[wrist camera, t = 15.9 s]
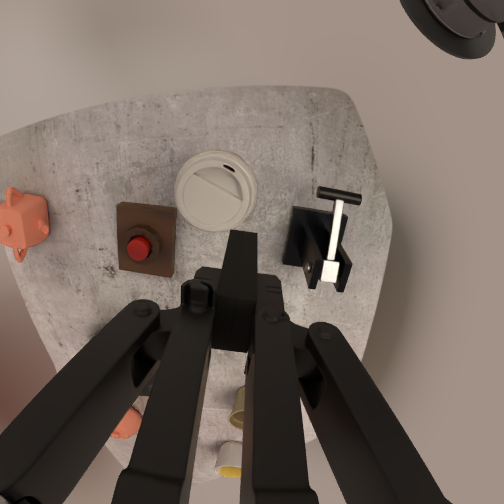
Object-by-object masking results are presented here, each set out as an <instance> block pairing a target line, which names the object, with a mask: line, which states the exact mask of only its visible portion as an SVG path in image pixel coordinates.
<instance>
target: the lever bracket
mask: <svg viewBox="0 0 504 504" xmlns="http://www.w3.org/2000/svg"><path fill="white" fill-rule="evenodd" d="M331 218H332V212H328V211H323V210H317V209H311V208H305V207H299V206H293V211H292V216H291V221H290V226H289V231H288V236H287V241H286V246H285V251H284V256H283V260H282V262H283V264H284V265H291V266H299V267H303V271H304V274H305V278H306V281H307V285H308V288H309V289H316V285H317V282H318V278H319V275H320V271H321V268H322V264H323V258H325V255H326V249H327V243H328V237H329V231H330V224H331ZM347 219H348V216H347V215H345V214H342V216H341V223H340V230H339V236H338V242H337V248H336V254H335V260H336V261H338V262H340V264H339V269H338V275H337V280H336V283H333V284H334V286H335V288H336V291H337V292H344V289H345V286H346V283H347V280H348V277H349V274H350V271H351V267H352V262H351V261H350V259H349V257H348V256H347V254H346V252H345V251H344V249H343V247H342V246H341V242H342V238H343V235H344V231H345V227H346V223H347Z"/></svg>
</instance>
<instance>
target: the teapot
mask: <svg viewBox="0 0 504 504" xmlns="http://www.w3.org/2000/svg"><path fill="white" fill-rule="evenodd" d="M12 195H14V196H12ZM11 196H12V197H11ZM48 235H49V219H48V210H47V202H46V199H45V198H44V197H40V196H37V195H32V194H21V193H20V192H19V191H18V190H17V189H15V188H13V187H9V188H7V190H6V200H5V201H4V202H3V203H2V204H1V205H0V243H1V244H3V245H5V246H8V247H11V248H13V252H14V256H15V259H16V261H17V262H19V263H20V262H22V261H23V259H24V257H25V255H26V252H27V249H28V248H29V247H32V246H34V245H37V244H39V243H41V242H43V241H44V240H45V239H46V238H47V237H48ZM18 249H21V252H20V253H19V251H18Z"/></svg>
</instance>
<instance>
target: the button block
mask: <svg viewBox="0 0 504 504" xmlns="http://www.w3.org/2000/svg"><path fill="white" fill-rule="evenodd" d="M176 214H177V208H174V207H166V206H157V205H148V204H139V203H129V202H121V203H119V204H118V205H117V239H118V258H119V269H120V270H126V271H132V272H138V273H144V274H150V275H156V276H162V277H169V278H171V277H172V275H173V273H174V261H175V234H176ZM136 236H143V237H145V238H146V239H147V240H148V241H149V242H150V245H151V251H150V253H149V254H148V256H147V257H146V258H145V259H144V260H141V261H137V260H134V259H133V258H131V257H130V255H129V254H128V251H127V246H128V244H129V243H130V241H131V240H132V239H133V238H134V237H136Z"/></svg>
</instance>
